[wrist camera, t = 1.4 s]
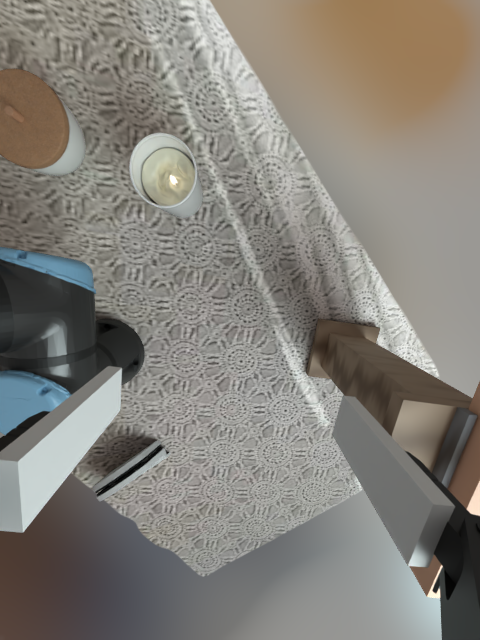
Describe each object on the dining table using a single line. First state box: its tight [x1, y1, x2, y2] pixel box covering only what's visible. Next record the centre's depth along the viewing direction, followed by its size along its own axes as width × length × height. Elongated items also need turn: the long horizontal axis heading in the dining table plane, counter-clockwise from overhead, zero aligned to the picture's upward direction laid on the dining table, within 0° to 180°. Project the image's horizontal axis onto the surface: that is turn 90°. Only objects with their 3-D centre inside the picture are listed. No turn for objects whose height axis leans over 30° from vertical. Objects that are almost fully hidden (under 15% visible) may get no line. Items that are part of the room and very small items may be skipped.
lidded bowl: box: [0, 69, 86, 176], centre depth 38 cm, size 13×13×11 cm
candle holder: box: [129, 133, 203, 218], centre depth 40 cm, size 10×10×12 cm
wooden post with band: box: [306, 319, 478, 488], centre depth 38 cm, size 13×16×31 cm
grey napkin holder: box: [93, 440, 171, 501], centre depth 56 cm, size 17×5×10 cm, turn 127°
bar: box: [410, 382, 480, 598], centre depth 23 cm, size 24×3×3 cm, turn 172°
